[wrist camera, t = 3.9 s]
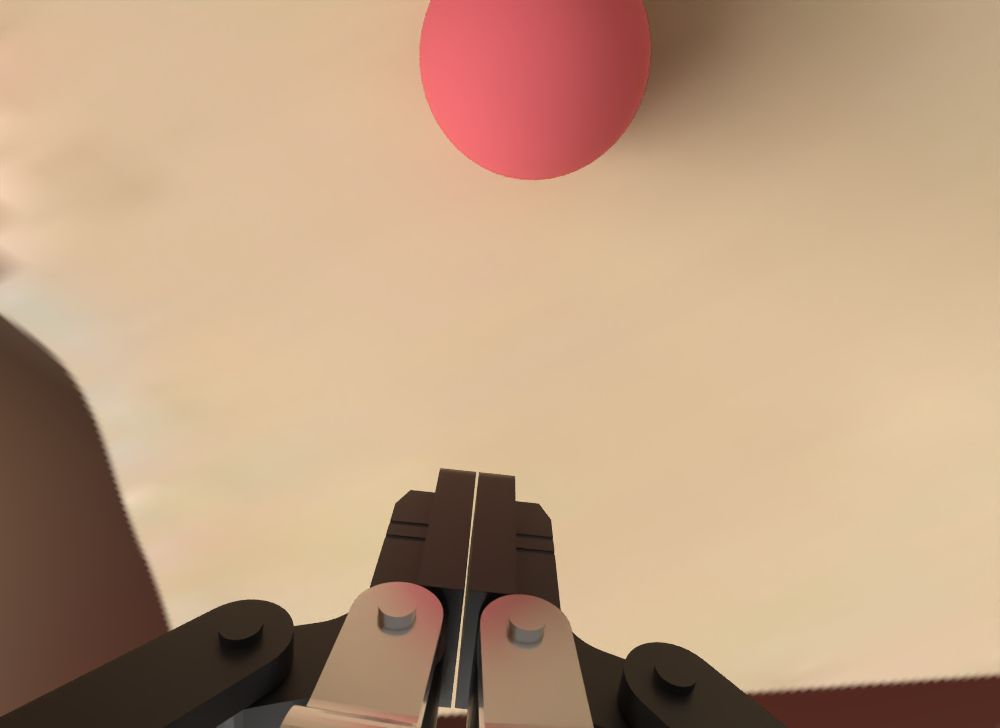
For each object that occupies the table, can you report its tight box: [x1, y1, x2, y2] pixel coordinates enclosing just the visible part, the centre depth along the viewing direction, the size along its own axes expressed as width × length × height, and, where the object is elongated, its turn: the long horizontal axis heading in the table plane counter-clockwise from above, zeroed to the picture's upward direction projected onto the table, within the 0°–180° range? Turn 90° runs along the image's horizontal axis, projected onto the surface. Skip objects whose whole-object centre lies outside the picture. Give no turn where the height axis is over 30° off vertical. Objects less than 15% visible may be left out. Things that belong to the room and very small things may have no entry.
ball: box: [420, 0, 651, 180], centre depth 17 cm, size 6×6×6 cm
